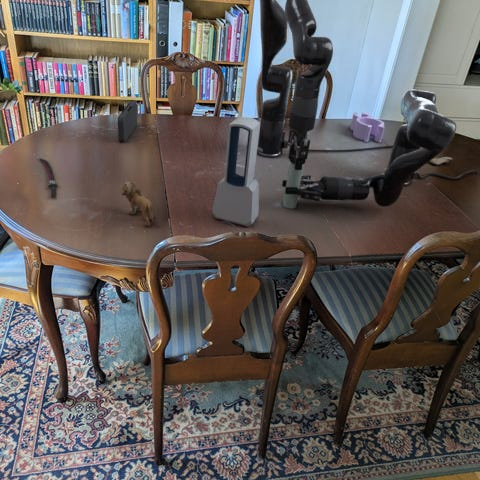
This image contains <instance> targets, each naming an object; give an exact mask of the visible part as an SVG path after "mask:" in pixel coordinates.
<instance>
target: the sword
mask: <svg viewBox="0 0 480 480" xmlns="http://www.w3.org/2000/svg"><path fill="white" fill-rule="evenodd" d="M40 161H41V162H42V163H43V165H44V166H45V169H46V173H47V176H48V185H47V188H50V198H56V197H57V189H56V188H57V187H59V185H58V184H57V183H56V180H55V176H54V172H53V169H52V167H51V164H50V163H49V161H48V160H46V159H43V158H40Z"/></svg>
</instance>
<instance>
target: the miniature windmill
mask: <svg viewBox="0 0 480 480" xmlns="http://www.w3.org/2000/svg"><path fill="white" fill-rule="evenodd" d="M300 66H301V64H300V63H298V65H297V67H293V66H292V65H289V64H286V66H285V67H286V68H290V69H291V70H292V71H294V74H293V77H292V82H291V87H290V91H289V97H288V100H289V99H290V100H293V96H294V94H290V93H291V90H295V84H296V78H297V76H298V75H299V74H300ZM291 104H292V103H290V104H289V103H287V106H291ZM286 110H291V107H287V109H286ZM285 117H290V114H286V116H285ZM286 121H287V122H289V119H286V118H285V122H286Z"/></svg>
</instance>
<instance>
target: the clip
mask: <svg viewBox="0 0 480 480" xmlns="http://www.w3.org/2000/svg"><path fill="white" fill-rule="evenodd" d="M358 114H359V113H358V112H353V114H352V118H351V122H350V126H349V129H350V130H351V131H353V132H352V136H353V137H354V138H356V139H358V140H361V141H363V142H364V143H368V142H369V140H370V135H372V136H374V139H373V140H374V142H376V143H382V140H383V137H384V132H385V129H386V127H385V122H384V121H383V120H380V119H377V118H374V117H372V115H371V114H369V113H366V112H361V115H358Z"/></svg>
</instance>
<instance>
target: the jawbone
mask: <svg viewBox="0 0 480 480" xmlns="http://www.w3.org/2000/svg"><path fill="white" fill-rule="evenodd" d="M450 160H451V161H453V158H452V157H450V156H444V157H443V156H442V157H440V158H436V157H434V158H433V159H432V160H431V161H429V162H428V163H431V164H433V165H436V166H437V165H441V164H443V163H444V164H446V165H447V164H448V163H449V161H450Z"/></svg>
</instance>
